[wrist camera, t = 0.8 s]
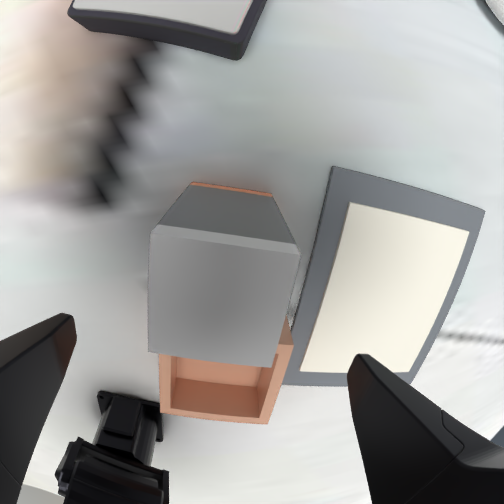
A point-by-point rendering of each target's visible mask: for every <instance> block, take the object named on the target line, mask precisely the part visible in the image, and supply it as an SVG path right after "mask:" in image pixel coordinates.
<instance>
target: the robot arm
mask: <svg viewBox="0 0 504 504" xmlns="http://www.w3.org/2000/svg"><path fill="white" fill-rule="evenodd" d="M76 341H77V335H76V329H75V322H74V318H73V316H72V315H69V314H65V313H60V314H57V315H55V316H53V317H51V318H49V319H47V320H44V321H42V322H40V323H38V324H36V325H34V326H31V327H29V328H27V329H25V330H23V331H21V332H18V333H16V334H14V335H12V336H10V337H8V338H6V339H4V340H1V341H0V504H16V503H17V500H18V497H19V493H20V490H21V486H22V483H23V480H24V477H25V474H26V471H27V468H28V465H29V463H30V460H31V457H32V454H33V452H34V449H35V446H36V444H37V441H38V438H39V436H40V433H41V431H42V428H43V426H44V423H45V421H46V419H47V416H48V414H49V411H50V409H51V407H52V404H53V402H54V400H55V398H56V395H57V393H58V391H59V389H60V386H61V384H62V382H63V379H64V376H65V374H66V370H67V367H68V365H69V362H70V359H71V356H72V353H73V350H74V347H75V345H76ZM347 384H348V391H349V398H350V405H351V412H352V418H353V422H354V426H355V430H356V435H357V439H358V443H359V447H360V451H361V455H362V460H363V464H364V468H365V473H366V477H367V482H368V486H369V491H370V495H371V500H372V504H504V447H501V446H498V445H496V444H494V443H493V442H491V441H489V440H488V439H486V438H485V437H483V436H481V435H480V434H478V433H476V432H475V431H473V430H471V429H470V428H468V427H467V426H465V425H464V424H462V423H461V422H459V421H458V420H456V419H455V418H453V417H452V416H451V415H449V414H448V413H447V412H445V411H444V410H441V408H440V407H439V406H437V405H436V404H435V403H433V402H432V401H430V400H429V399H428V398H426V397H425V396H424V395H422V394H421V393H420V392H418V391H417V390H416V389H414V388H413V387H412V386H410V385H409V384H408V383H406V382H405V381H404V380H402V379H401V378H400V377H398V376H397V375H396V374H394V373H393V372H392V371H390V370H389V369H388V368H387V367H385V366H384V365H383V364H381V363H380V362H379V361H377V360H376V359H375V358H373V357H372V356H371V355H369V354H360V353H359V354H356V355H355V357H354V359H353V361H352V363H351V366H350V368H349V370H348V373H347ZM97 398H98V402H99V407H100V410H101V414H102V418H101V421H100V424H99V426H98V429H97V432H96V435H95V438H94V440H93V443H92V444H91V443H89V442H87V441H84V439H82V438H80V437H78V438H77V440H76V441H75V442H69V445H68V447H67V450H66V452H65V455H64V457H63V458H62V460H61V462H60V464H59V466H58V468H57V470H56V472H55V477H56V479H57V481H58V486H59V490H58V494H59V495H61V496H64V497H65V500H64V503H63V504H169V471H166V470H160V469H157V468H154V467H151V461H152V456H153V451H154V446H155V441H157V442H162V441H163V419H162V413H160V404H158V403H153V402H148V401H143V400H138V399H133V398H128V397H124V396H119V395H115V394H111V393H106V392H102V391H99V392H98V394H97Z"/></svg>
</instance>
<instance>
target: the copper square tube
mask: <svg viewBox="0 0 504 504" xmlns="http://www.w3.org/2000/svg"><path fill="white" fill-rule="evenodd" d="M293 347H294V344H293V340H292V335H291V331H290V327H289V323H288V319H287V315H286V317H285V321H284V324H283V328H282V332H281V335H280V339H279V343H278V346H277V350H276V353H275V357H274V360H273V364H272V367H271V368H269V367H257V366H246V365H237V364H228V363H219V362H211V361H203V360H196V359H189V358H182V357H176V356H170V355H164V354H159V388H160V413H166V414H172V415H178V416H185V417H192V418H199V419H208V420H216V421H226V422H238V423H252V424H268V421H269V419H270V416H271V413H272V410H273V407H274V404H275V401H276V399H277V396H278V393H279V390H280V387H281V384H282V381H283V378H284V375H285V372H286V369H287V366H288V363H289V359H290V356H291V353H292V350H293Z"/></svg>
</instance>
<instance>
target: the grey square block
mask: <svg viewBox="0 0 504 504" xmlns="http://www.w3.org/2000/svg"><path fill="white" fill-rule="evenodd" d="M300 258H301V253H300V251H299V249H298V247H297V245H296V243H295V241H294V239H293V237H292V235H291V233H290V231H289V229H288V227H287V225H286V223H285V221H284V218H283V216H282V214H281V212H280V210H279V208H278V206H277V204H276V202H275V200H274V198H273V196H272V194H270V193H264V192H258V191H252V190H245V189H239V188H232V187H225V186H218V185H211V184H204V183H197V182H191V183H190V185H189V186H188V187H187V188H186V189H185V191H184V192H183V193H182V194H181V196H180V197H179V198H178V199H177V200H176V202H175V203H174V204H173V205H172V207H171V208H170V209H169V210H168V211H167V213H166V214H165V215H164V217H163V218H162V219H161V220H160V222H159V223H158V224H157V225H156V227H155V228H154V229H153V231H152V232H151V233H150V247H149V270H148V352H152V353H158V354H164V355H170V356H176V357H182V358H189V359H196V360H203V361H211V362H219V363H228V364H237V365H246V366H257V367H269V368H271V367H272V364H273V360H274V357H275V353H276V350H277V346H278V343H279V339H280V335H281V332H282V328H283V324H284V321H285V317H286V313H287V309H288V306H289V302H290V298H291V294H292V290H293V286H294V282H295V278H296V274H297V270H298V266H299V262H300Z"/></svg>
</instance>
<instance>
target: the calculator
mask: <svg viewBox="0 0 504 504" xmlns="http://www.w3.org/2000/svg"><path fill="white" fill-rule="evenodd" d="M266 1H267V0H73V1H72V3H71V5H70V7H69V9H68V12H67V14H68V16H69V17H71V18H72V19H73V20H75V21H76V22H78V23H79V24H81V25H82V26H84V27H85V28H86V29H88V30H89V31H93V32H102V33H110V34H118V35H125V36H131V37H137V38H143V39H149V40H154V41H159V42H164V43H169V44H174V45H178V46H182V47H187V48H191V49H195V50H199V51H203V52H206V53H210V54H214V55H217V56H221V57H224V58H228V59H231V60H239V59H241V58H242V56H243V54H244V52H245V50H246V47H247V45H248V43H249V40H250V38H251V36H252V33H253V31H254V29H255V26H256V24H257V22H258V20H259V17H260V15H261V13H262V11H263V8H264V6H265V3H266Z"/></svg>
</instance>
